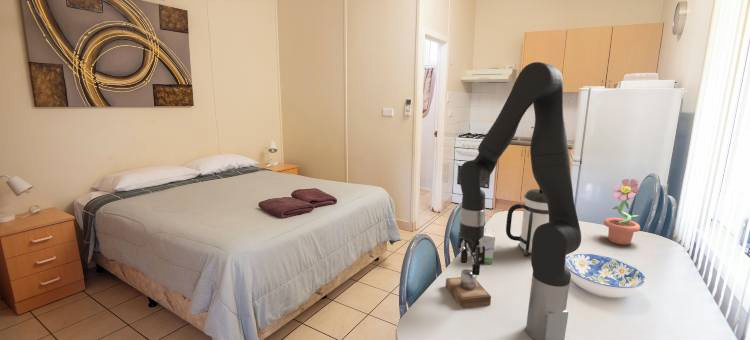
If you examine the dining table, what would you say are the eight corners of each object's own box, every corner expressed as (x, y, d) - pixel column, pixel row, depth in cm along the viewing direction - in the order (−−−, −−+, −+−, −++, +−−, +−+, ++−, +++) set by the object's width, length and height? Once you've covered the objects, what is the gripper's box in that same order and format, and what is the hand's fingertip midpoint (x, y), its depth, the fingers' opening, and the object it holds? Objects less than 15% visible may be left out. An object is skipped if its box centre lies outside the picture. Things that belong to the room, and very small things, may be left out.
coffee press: (527, 241, 165) (534, 178, 159) (560, 255, 152) (570, 186, 145) (502, 249, 156) (509, 183, 149) (536, 264, 143) (545, 192, 136)
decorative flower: (592, 236, 173) (602, 175, 167) (616, 234, 176) (627, 174, 170) (618, 249, 159) (630, 183, 153) (644, 247, 162) (657, 182, 155)
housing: (464, 291, 117) (465, 276, 115) (457, 283, 121) (458, 268, 120) (478, 290, 118) (479, 275, 116) (471, 282, 122) (472, 267, 121)
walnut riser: (490, 304, 115) (491, 296, 114) (461, 307, 113) (461, 298, 112) (472, 283, 127) (472, 275, 127) (445, 286, 125) (446, 278, 125)
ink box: (477, 254, 151) (480, 227, 149) (490, 255, 150) (493, 228, 148) (479, 263, 143) (481, 235, 141) (492, 264, 142) (495, 236, 140)
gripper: (452, 215, 121) (450, 260, 124) (471, 229, 107) (468, 280, 110) (473, 214, 122) (470, 258, 125) (494, 228, 108) (491, 278, 111)
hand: (469, 268), depth 118 cm, fingers open, 8 cm apart
